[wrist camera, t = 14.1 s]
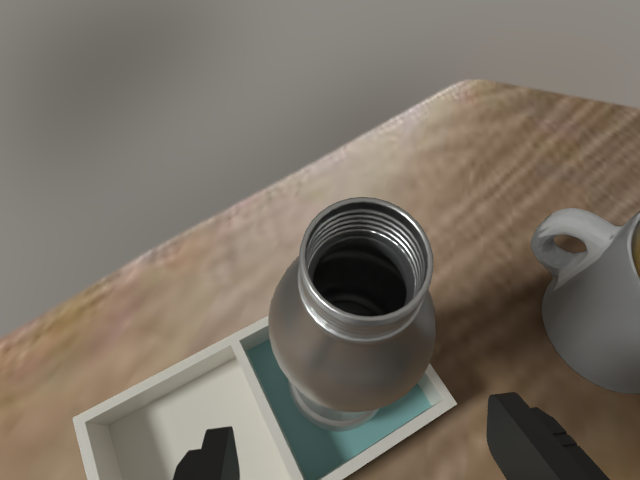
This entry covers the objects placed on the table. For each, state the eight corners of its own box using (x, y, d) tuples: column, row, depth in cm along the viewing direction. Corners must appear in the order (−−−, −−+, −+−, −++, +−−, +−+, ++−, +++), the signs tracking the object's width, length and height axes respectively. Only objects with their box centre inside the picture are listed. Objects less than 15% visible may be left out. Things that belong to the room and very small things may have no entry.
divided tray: (149, 601, 23) (122, 624, 20) (100, 422, 28) (72, 418, 24) (441, 410, 28) (457, 404, 25) (360, 284, 32) (364, 265, 29)
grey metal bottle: (379, 333, 30) (466, 153, 12) (386, 434, 27) (517, 388, 9) (291, 333, 30) (254, 153, 12) (288, 434, 27) (230, 388, 9)
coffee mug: (706, 339, 30) (864, 289, 21) (627, 424, 27) (771, 408, 19) (560, 216, 35) (639, 136, 27) (481, 278, 33) (540, 211, 24)
